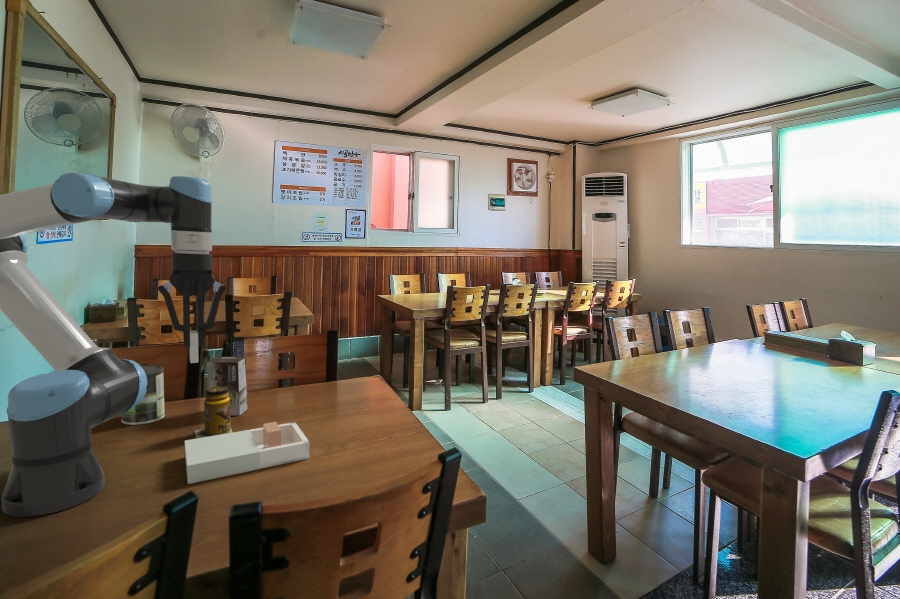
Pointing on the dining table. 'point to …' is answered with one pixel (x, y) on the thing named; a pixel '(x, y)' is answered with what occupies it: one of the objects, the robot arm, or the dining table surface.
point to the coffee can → (148, 399)
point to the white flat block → (221, 456)
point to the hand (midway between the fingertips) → (194, 361)
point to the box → (283, 446)
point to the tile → (271, 435)
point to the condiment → (216, 413)
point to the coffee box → (230, 380)
